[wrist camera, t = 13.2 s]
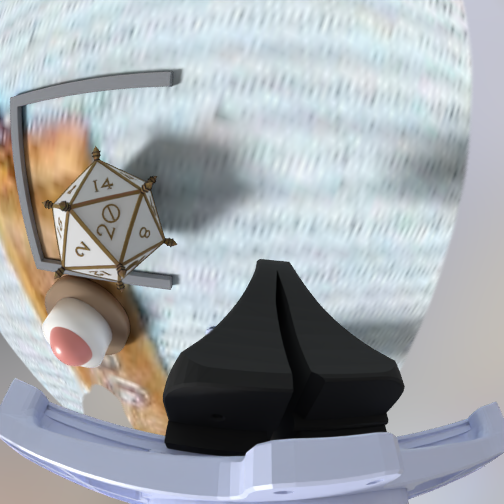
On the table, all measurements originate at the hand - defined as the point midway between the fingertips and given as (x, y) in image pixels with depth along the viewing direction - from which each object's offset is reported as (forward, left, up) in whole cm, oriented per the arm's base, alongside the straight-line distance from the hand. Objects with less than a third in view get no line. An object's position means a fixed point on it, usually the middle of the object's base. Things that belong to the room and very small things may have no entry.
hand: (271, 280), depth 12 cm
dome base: (-14, +17, -9) cm, 24 cm away
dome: (-14, +17, -8) cm, 23 cm away
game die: (-1, +10, -10) cm, 14 cm away
